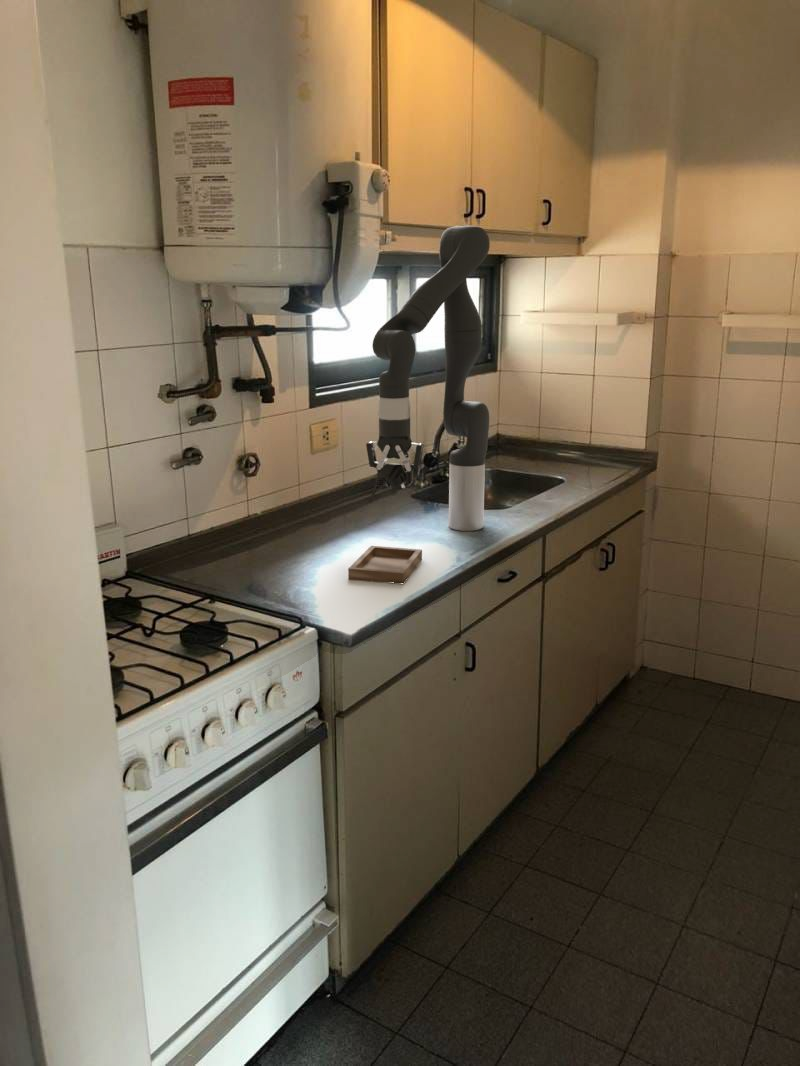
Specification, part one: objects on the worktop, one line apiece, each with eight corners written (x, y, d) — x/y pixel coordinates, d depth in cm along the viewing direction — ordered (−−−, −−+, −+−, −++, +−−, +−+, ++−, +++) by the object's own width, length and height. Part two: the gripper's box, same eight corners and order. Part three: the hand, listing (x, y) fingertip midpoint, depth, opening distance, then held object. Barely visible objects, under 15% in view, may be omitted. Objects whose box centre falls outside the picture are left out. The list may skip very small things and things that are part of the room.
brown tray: (371, 555, 202) (371, 545, 201) (422, 559, 199) (422, 549, 198) (348, 579, 186) (348, 568, 185) (403, 584, 183) (403, 573, 182)
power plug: (360, 492, 199) (384, 455, 205) (372, 513, 205) (395, 477, 210) (380, 495, 196) (403, 458, 202) (391, 516, 201) (414, 479, 207)
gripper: (427, 414, 203) (427, 483, 208) (370, 412, 207) (371, 480, 211) (420, 419, 196) (420, 490, 201) (360, 417, 200) (362, 487, 204)
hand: (395, 484), depth 206 cm, fingers closed on power plug, 6 cm apart
